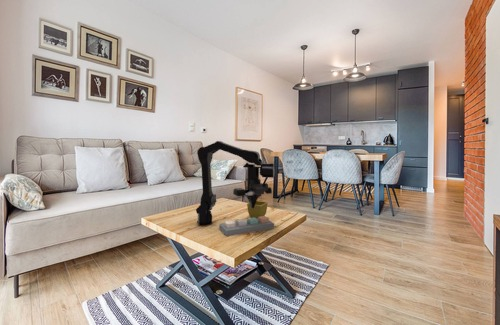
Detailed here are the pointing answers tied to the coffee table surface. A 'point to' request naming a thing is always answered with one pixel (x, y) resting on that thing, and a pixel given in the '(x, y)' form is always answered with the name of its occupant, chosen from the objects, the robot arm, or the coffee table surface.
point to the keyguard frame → (246, 228)
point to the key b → (241, 222)
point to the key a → (229, 224)
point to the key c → (252, 221)
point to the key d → (263, 219)
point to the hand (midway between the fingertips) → (252, 208)
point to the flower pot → (257, 209)
